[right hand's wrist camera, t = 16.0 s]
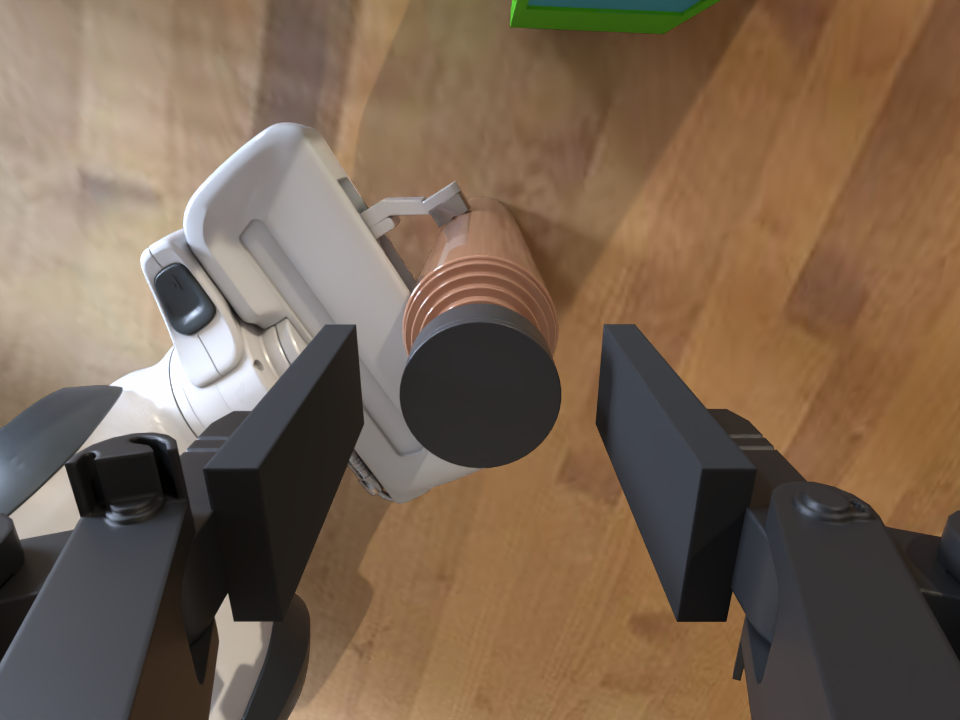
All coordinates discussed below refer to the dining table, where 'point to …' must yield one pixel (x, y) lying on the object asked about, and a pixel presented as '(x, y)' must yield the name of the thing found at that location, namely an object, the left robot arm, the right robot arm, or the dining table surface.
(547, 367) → the cap
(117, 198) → the dining table surface
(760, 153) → the dining table surface
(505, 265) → the bottle
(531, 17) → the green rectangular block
